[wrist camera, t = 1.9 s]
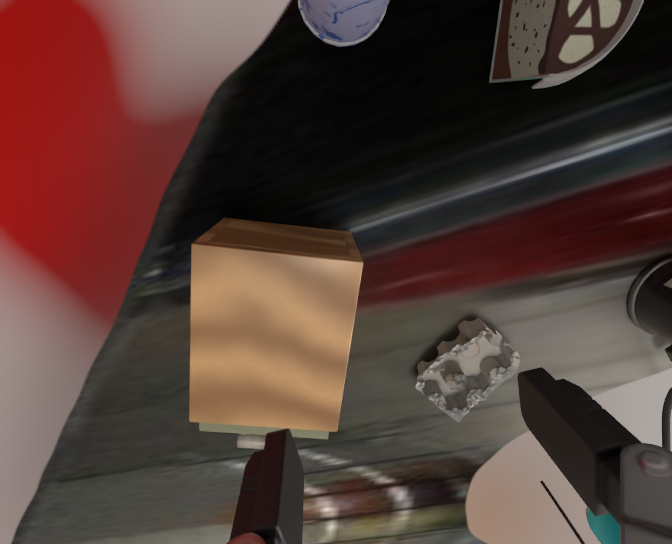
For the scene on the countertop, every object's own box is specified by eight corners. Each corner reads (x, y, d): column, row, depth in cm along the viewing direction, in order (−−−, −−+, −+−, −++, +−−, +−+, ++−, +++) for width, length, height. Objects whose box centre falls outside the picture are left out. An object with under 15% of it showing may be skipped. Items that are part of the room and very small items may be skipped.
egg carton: (473, 308, 43) (489, 324, 39) (514, 348, 45) (533, 367, 41) (404, 370, 45) (413, 391, 41) (446, 406, 47) (458, 429, 43)
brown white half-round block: (549, 102, 36) (632, 88, 27) (486, 100, 36) (547, 84, 27) (579, -55, 33) (687, -137, 23) (508, -60, 32) (589, -145, 23)
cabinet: (332, 365, 44) (337, 432, 34) (218, 356, 43) (188, 422, 33) (351, 231, 39) (363, 262, 29) (224, 217, 38) (191, 243, 28)
